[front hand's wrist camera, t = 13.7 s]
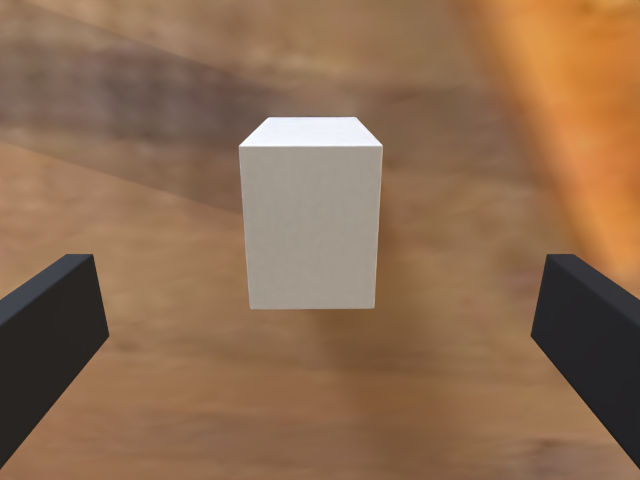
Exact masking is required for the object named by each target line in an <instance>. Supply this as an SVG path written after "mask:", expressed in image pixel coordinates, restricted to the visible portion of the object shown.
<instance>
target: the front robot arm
mask: <svg viewBox="0 0 640 480" xmlns="http://www.w3.org/2000/svg"><path fill="white" fill-rule="evenodd" d="M108 337H109V331H108V326H107V321H106V316H105V312H104V307H103V302H102V297H101V292H100V287H99V282H98V277H97V272H96V267H95V262H94V257H93V254H66V255H65V256H63V257H62V258H60V259H59V260H57V261H56V262H54V263H53V264H52V265H50V266H49V267H47V268H46V269H44V270H43V271H42V272H40V273H39V274H37V275H36V276H34V277H33V278H31V279H30V280H29V281H27V282H26V283H24V284H23V285H21V286H20V287H18V288H17V289H16V290H14V291H13V292H11V293H10V294H8V295H7V296H5V297H4V298H3V299H1V300H0V469H1V468H2V467H3V466H4V464H5V463H6V462H7V461H8V459H9V458H10V457H11V456H12V455H13V453H14V452H15V451H16V450H17V448H18V447H19V446H20V445H21V444H22V442H23V441H24V440H25V439H26V437H27V436H28V435H29V434H30V433H31V431H32V430H33V429H34V428H35V426H36V425H37V424H38V423H39V422H40V420H41V419H42V418H43V417H44V415H45V414H46V413H47V412H48V411H49V409H50V408H51V407H52V406H53V404H54V403H55V402H56V401H57V400H58V398H59V397H60V396H61V395H62V393H63V392H64V391H65V390H66V389H67V387H68V386H69V385H70V384H71V382H72V381H73V380H74V379H75V377H76V376H77V375H78V374H79V373H80V371H81V370H82V369H83V368H84V366H85V365H86V364H87V363H88V362H89V360H90V359H91V358H92V357H93V355H94V354H95V353H96V352H97V351H98V349H99V348H100V347H101V346H102V344H103V343H104V342H105V341H106V340H107V338H108ZM531 337H532V338H533V340H534V341H535V342H536V343H537V344H538V346H539V347H540V348H541V349H542V351H543V352H544V353H545V354H546V355H547V357H548V358H549V359H550V360H551V362H552V363H553V364H554V365H555V366H556V368H557V369H558V370H559V371H560V373H561V374H562V375H563V376H564V377H565V379H566V380H567V381H568V382H569V384H570V385H571V386H572V387H573V389H574V390H575V391H576V392H577V393H578V395H579V396H580V397H581V398H582V400H583V401H584V402H585V403H586V404H587V406H588V407H589V408H590V409H591V411H592V412H593V413H594V414H595V415H596V417H597V418H598V419H599V420H600V422H601V423H602V424H603V425H604V426H605V428H606V429H607V430H608V431H609V433H610V434H611V435H612V436H613V437H614V439H615V440H616V441H617V442H618V444H619V445H620V446H621V447H622V448H623V450H624V451H625V452H626V453H627V455H628V456H629V457H630V458H631V459H632V461H633V462H634V463H635V464H636V466H637V467H638V468H639V469H640V300H639V299H637V298H636V297H635V296H633V295H632V294H630V293H629V292H627V291H626V290H624V289H623V288H622V287H620V286H619V285H617V284H616V283H614V282H613V281H611V280H610V279H609V278H607V277H606V276H604V275H603V274H601V273H600V272H598V271H597V270H596V269H594V268H593V267H591V266H590V265H588V264H587V263H586V262H584V261H583V260H581V259H580V258H578V257H577V256H575V255H574V254H547V257H546V262H545V267H544V272H543V277H542V282H541V287H540V292H539V297H538V302H537V307H536V312H535V316H534V321H533V326H532V331H531Z"/></svg>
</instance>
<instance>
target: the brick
mask: <svg viewBox="0 0 640 480" xmlns="http://www.w3.org/2000/svg"><path fill="white" fill-rule="evenodd" d="M382 151H383V146H382V145H381V143H380V142H379V141H378V140H377V139H376V138H375V137H374V136H373V135H372V134H371V133H370V132H369V131H368V130H367V129H366V128H365V127H364V125H363V124H362V123H361V122H360V121H359V120H358V119H357V118H356V117H269V118H267V119H266V120H265V121H264V122H263V123H262V124H261V125H260V126H259V127H258V128H257V129H256V130H255V131H254V132H253V133H252V134H251V135H250V136H249V137H248V138H247V139H246V140H245V141H243V142H242V143H241V144H240V145H239V157H240V172H241V187H242V202H243V216H244V231H245V246H246V261H247V275H248V290H249V305H250V309H251V310H256V309H374V304H375V285H376V266H377V247H378V227H379V208H380V189H381V170H382Z"/></svg>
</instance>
